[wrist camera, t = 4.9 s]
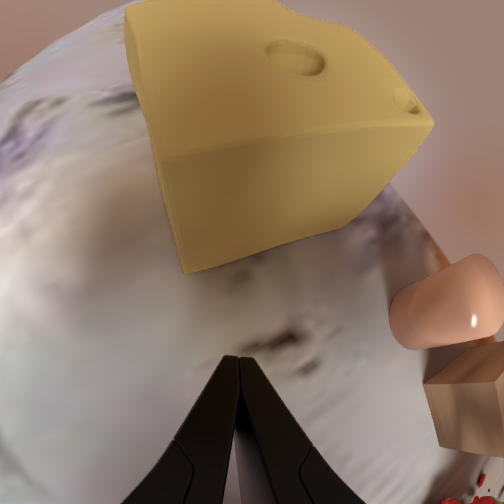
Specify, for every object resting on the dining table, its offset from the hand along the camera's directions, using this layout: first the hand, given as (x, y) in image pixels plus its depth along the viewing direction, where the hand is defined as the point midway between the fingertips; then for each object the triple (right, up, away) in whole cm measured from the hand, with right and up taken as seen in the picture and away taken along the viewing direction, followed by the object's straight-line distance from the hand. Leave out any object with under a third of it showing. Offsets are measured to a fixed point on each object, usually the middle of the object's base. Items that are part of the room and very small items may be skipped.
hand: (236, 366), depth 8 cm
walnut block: (+14, -6, +7) cm, 17 cm away
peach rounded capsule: (+10, -1, +8) cm, 13 cm away
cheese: (0, +7, +10) cm, 13 cm away
